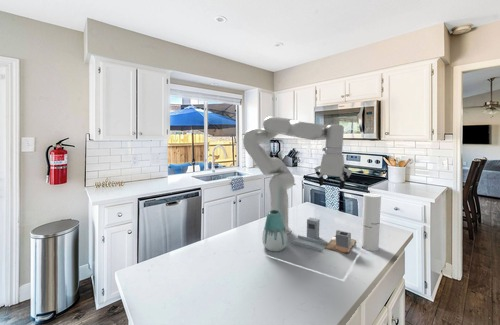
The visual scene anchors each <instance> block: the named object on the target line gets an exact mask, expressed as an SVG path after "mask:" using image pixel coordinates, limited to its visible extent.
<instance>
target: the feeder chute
mask: <svg viewBox="0 0 500 325" xmlns="http://www.w3.org/2000/svg"><path fill="white" fill-rule="evenodd" d="M291 244H293V245H295V246H299V247H303V248H306V249H309V250H314V251H318V252H322V251H323V250H324V249H325V246H326V245H327V244H328V241H324V240H321V239H313V238H309V237H307V236H305V235H300V234H298V235H297V239H296V240H294V239H293V240H291Z"/></svg>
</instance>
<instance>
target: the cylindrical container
mask: <svg viewBox="0 0 500 325" xmlns="http://www.w3.org/2000/svg"><path fill="white" fill-rule="evenodd" d="M381 202H382V195H381V194H380V193H379V194H378V193H374V192H373V193H372V192H371V193H370V192H367V193H363V203H362V204H363V205H362V220H361V221H362V224H361V226H362V227H361V230H362V231H361V244H360V245H361V248H362V249H364V250H365V251H369V252H370V251H371V252H376V251H378V250H379V246H380V245H379V244H380V225H381V224H380V221H381V204H382V203H381Z"/></svg>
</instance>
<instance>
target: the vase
mask: <svg viewBox="0 0 500 325" xmlns="http://www.w3.org/2000/svg"><path fill="white" fill-rule="evenodd" d="M261 240H262V244H263V247H264V248H265V249H266V250H268V251H270V252H281V251H283V250H284V249H285V248H286V246H287V245H288V234H287V233H286V228H285V225H284V221H283V217H282V215H281V213H280V212H279V211H278V210H271V209H270V210H269V211H268V213H267V215H266V219H265V223H264V227H263V232H262V238H261Z"/></svg>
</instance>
